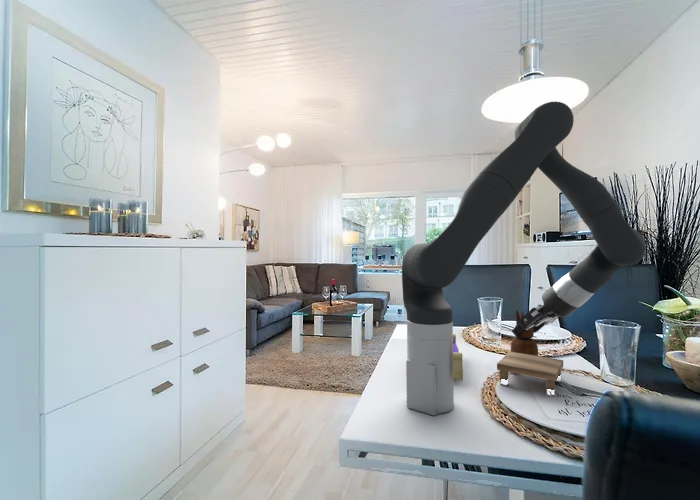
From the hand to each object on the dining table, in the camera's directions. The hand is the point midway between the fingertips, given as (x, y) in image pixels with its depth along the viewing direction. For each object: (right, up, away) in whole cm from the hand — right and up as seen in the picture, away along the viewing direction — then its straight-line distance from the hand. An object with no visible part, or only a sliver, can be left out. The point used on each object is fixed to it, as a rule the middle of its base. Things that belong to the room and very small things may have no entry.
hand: (523, 331), depth 94 cm
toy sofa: (-22, -10, 0) cm, 24 cm away
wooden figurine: (0, -9, 0) cm, 9 cm away
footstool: (-5, -9, -13) cm, 16 cm away
